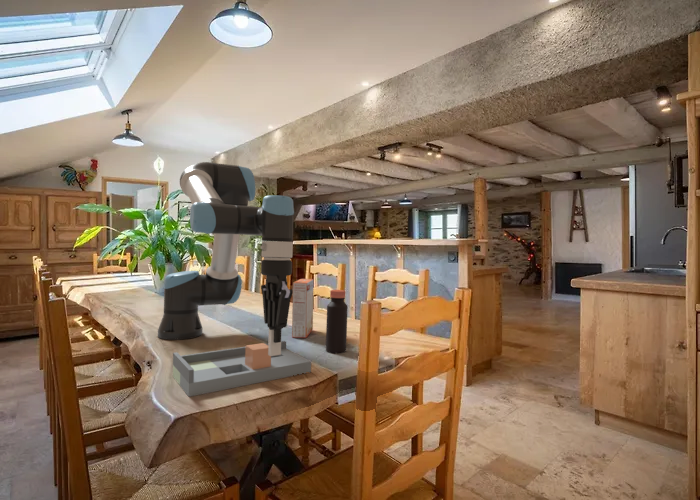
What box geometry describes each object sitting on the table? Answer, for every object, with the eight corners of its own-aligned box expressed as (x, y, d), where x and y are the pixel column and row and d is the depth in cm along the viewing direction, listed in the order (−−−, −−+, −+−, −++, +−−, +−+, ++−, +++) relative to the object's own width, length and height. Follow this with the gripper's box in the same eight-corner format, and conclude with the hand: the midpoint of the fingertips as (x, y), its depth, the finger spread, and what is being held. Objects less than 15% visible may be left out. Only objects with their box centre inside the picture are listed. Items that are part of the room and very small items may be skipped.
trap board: (172, 375, 100) (173, 352, 100) (284, 357, 119) (284, 337, 119) (188, 396, 87) (189, 370, 87) (310, 372, 106) (311, 350, 106)
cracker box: (298, 329, 157) (300, 278, 157) (313, 330, 157) (314, 278, 157) (290, 337, 143) (292, 281, 143) (306, 338, 143) (308, 282, 143)
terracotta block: (245, 364, 102) (245, 345, 102) (262, 361, 105) (263, 343, 105) (252, 369, 98) (253, 350, 98) (270, 366, 101) (271, 347, 101)
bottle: (338, 354, 123) (340, 292, 123) (321, 351, 127) (323, 290, 127) (350, 350, 129) (352, 290, 129) (333, 346, 133) (335, 288, 132)
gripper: (251, 257, 98) (249, 350, 98) (274, 260, 87) (271, 363, 88) (278, 258, 102) (276, 346, 103) (303, 260, 92) (300, 358, 92)
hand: (274, 354), depth 95 cm, fingers closed
